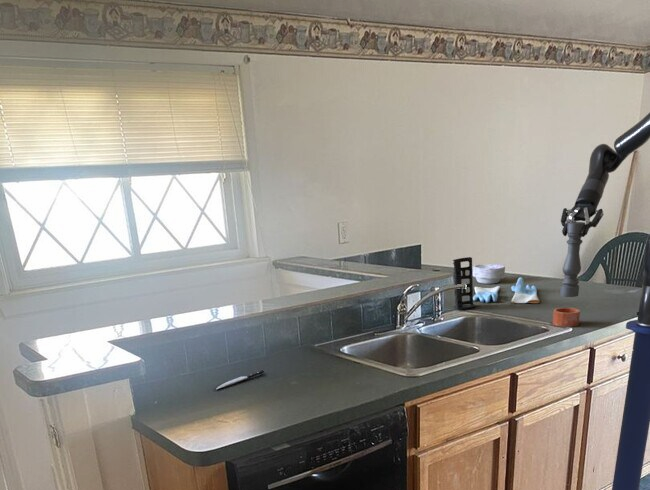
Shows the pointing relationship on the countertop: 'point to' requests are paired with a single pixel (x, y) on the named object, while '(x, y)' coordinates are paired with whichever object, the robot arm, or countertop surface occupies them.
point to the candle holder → (572, 260)
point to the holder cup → (566, 317)
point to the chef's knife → (239, 379)
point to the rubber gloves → (520, 291)
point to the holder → (458, 281)
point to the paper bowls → (488, 273)
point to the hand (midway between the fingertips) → (573, 234)
